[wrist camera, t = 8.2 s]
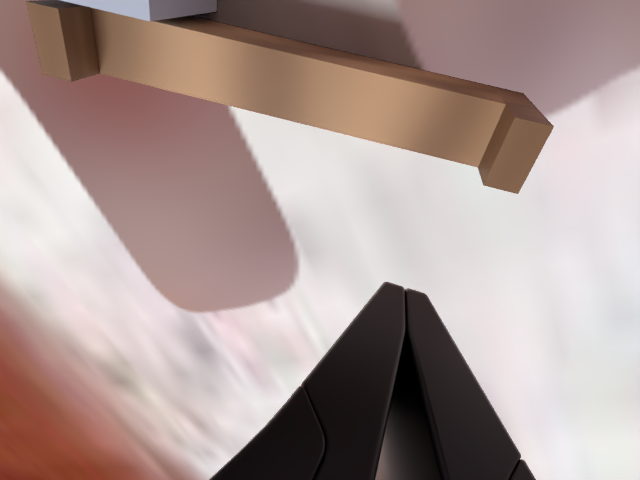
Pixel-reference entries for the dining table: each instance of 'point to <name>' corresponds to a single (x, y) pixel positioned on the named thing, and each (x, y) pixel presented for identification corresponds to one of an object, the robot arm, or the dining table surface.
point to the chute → (299, 85)
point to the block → (151, 7)
